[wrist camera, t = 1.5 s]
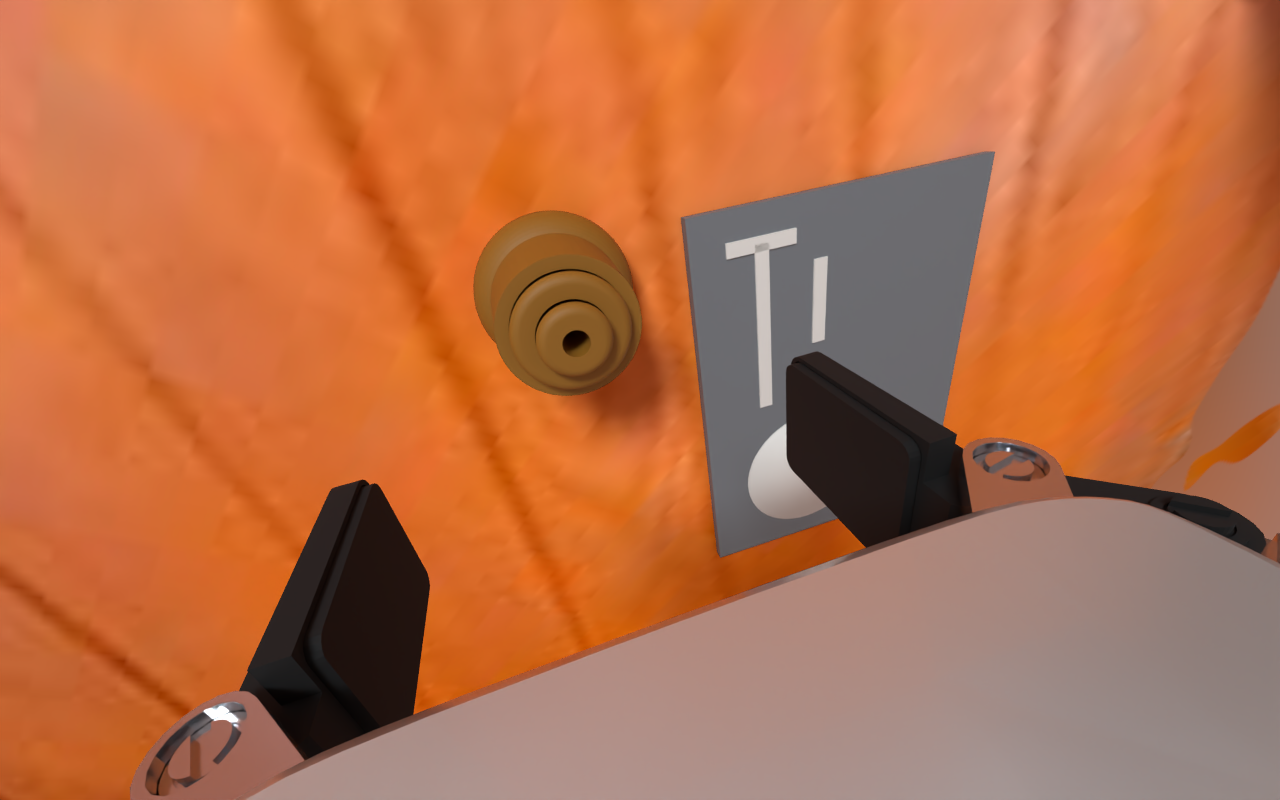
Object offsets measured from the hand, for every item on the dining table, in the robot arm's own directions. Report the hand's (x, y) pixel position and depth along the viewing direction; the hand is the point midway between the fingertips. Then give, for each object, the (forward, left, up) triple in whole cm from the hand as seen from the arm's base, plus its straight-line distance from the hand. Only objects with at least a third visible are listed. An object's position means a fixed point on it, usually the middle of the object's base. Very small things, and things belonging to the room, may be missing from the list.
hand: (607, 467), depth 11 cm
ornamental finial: (0, 0, -16) cm, 16 cm away
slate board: (-16, +10, -15) cm, 24 cm away
